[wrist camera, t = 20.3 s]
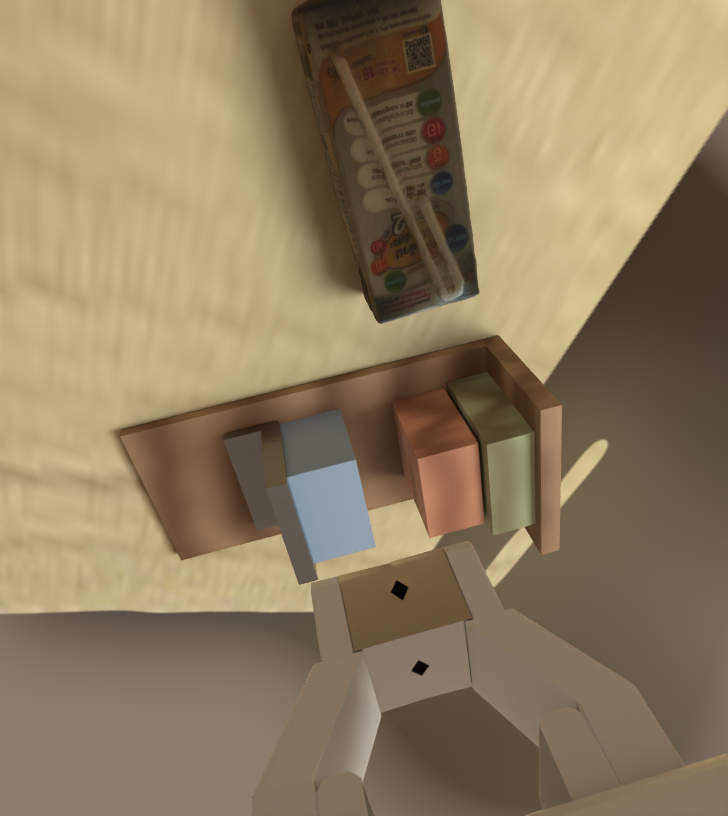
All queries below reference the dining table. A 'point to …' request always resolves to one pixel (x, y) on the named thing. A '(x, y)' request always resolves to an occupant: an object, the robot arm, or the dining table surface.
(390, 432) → the shelf
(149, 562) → the dining table surface
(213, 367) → the dining table surface
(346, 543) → the book
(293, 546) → the bookend
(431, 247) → the beverage carton
